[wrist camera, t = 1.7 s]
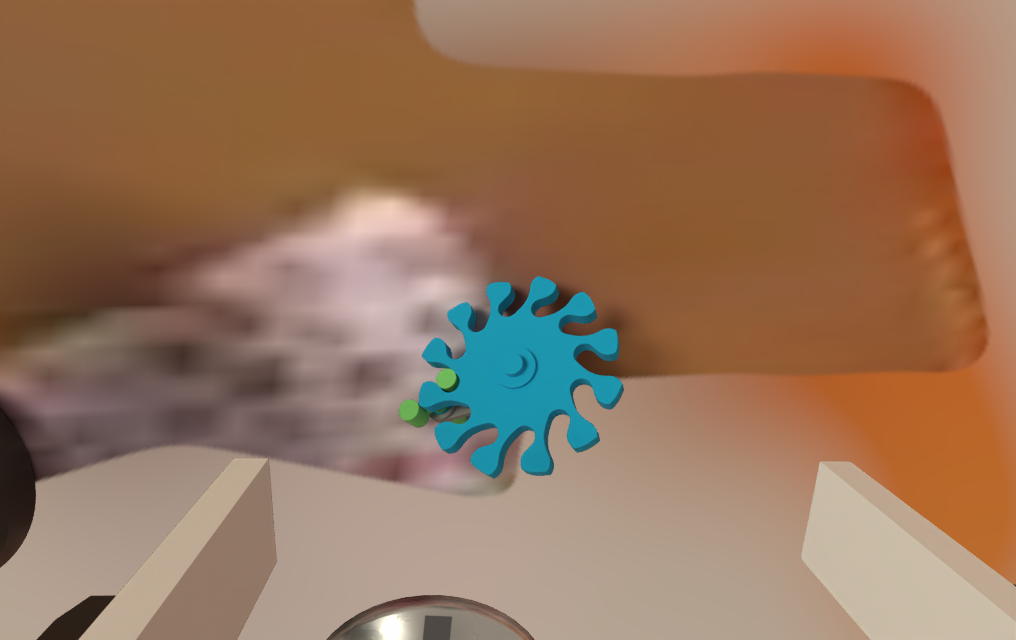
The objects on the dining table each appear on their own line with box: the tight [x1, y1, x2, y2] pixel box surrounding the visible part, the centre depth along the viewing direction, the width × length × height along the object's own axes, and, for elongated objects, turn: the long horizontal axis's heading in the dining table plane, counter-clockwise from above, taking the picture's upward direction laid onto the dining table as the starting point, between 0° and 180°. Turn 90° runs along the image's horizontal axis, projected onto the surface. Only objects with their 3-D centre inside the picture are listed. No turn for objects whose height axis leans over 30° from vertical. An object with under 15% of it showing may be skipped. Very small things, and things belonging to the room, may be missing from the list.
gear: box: [399, 276, 624, 478], centre depth 28 cm, size 11×6×10 cm
